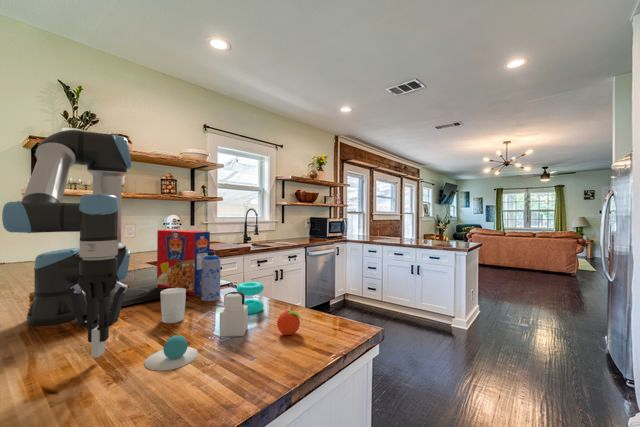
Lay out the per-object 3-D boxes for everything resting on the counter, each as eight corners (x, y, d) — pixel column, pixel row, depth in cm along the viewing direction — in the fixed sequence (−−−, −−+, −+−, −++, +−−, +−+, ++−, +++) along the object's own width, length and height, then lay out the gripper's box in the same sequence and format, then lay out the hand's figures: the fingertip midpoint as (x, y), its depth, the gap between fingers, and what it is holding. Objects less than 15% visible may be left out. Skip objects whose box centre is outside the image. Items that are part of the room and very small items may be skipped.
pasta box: (157, 287, 145) (157, 230, 145) (172, 284, 151) (172, 229, 151) (194, 295, 131) (194, 232, 131) (209, 291, 137) (209, 231, 137)
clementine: (306, 332, 91) (306, 309, 91) (297, 341, 85) (297, 316, 85) (283, 328, 94) (283, 306, 94) (272, 337, 87) (273, 313, 87)
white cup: (175, 325, 96) (175, 294, 96) (154, 323, 98) (154, 293, 98) (190, 316, 104) (191, 288, 104) (171, 315, 105) (171, 287, 105)
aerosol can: (213, 294, 132) (213, 250, 132) (224, 297, 127) (224, 251, 127) (197, 298, 126) (197, 251, 126) (208, 302, 121) (208, 253, 121)
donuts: (268, 282, 114) (253, 288, 105) (268, 308, 114) (253, 316, 105) (247, 280, 118) (230, 285, 108) (247, 305, 118) (230, 312, 108)
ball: (155, 349, 71) (175, 337, 72) (164, 339, 77) (182, 327, 77) (168, 368, 72) (188, 355, 72) (176, 356, 77) (194, 344, 78)
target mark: (135, 372, 68) (135, 371, 68) (156, 348, 79) (156, 347, 79) (190, 368, 69) (190, 368, 69) (203, 346, 81) (203, 345, 81)
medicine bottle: (225, 327, 94) (225, 290, 94) (247, 327, 95) (248, 289, 95) (219, 337, 87) (219, 296, 87) (243, 336, 88) (244, 296, 88)
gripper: (57, 260, 67) (56, 364, 67) (120, 259, 69) (119, 360, 69) (79, 255, 75) (78, 349, 75) (135, 255, 77) (134, 346, 77)
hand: (98, 354), depth 72 cm, fingers closed
